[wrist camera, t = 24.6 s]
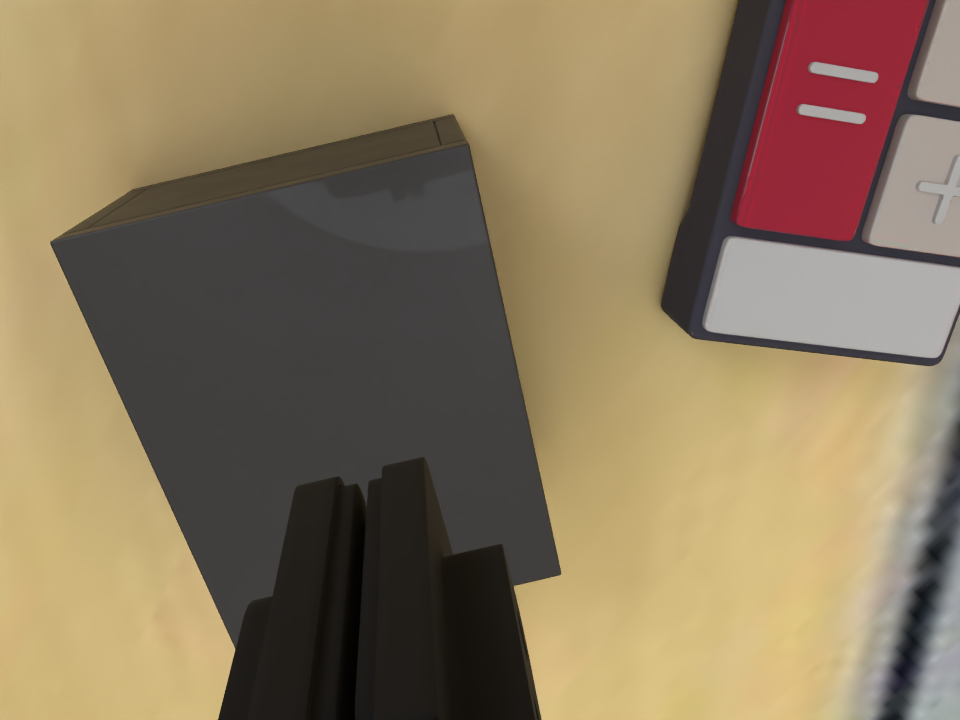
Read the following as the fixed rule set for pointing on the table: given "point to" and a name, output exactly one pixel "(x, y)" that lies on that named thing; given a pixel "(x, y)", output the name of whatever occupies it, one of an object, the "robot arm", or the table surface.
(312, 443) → the case lid
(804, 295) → the calculator
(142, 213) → the case
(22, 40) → the table surface
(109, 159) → the table surface
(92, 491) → the table surface
